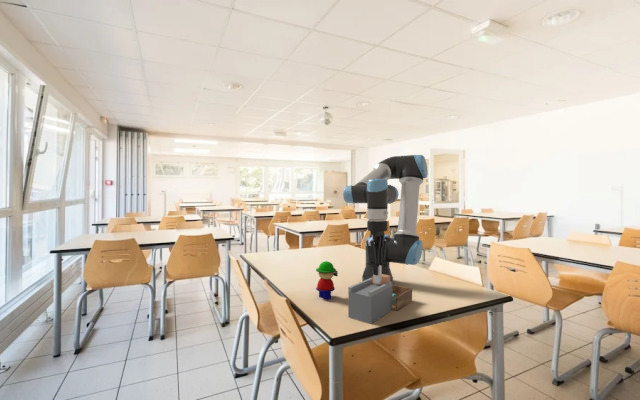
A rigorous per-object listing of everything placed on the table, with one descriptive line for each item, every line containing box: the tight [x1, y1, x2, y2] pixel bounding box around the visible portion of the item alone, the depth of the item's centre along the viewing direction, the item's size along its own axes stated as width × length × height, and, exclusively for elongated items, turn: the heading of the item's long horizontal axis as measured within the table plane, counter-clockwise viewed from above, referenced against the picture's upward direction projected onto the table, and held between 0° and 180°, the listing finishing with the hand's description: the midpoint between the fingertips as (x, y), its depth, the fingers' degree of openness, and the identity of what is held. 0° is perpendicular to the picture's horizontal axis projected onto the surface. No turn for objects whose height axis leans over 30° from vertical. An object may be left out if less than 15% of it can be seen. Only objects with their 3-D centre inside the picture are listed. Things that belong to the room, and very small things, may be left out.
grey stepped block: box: [347, 278, 393, 324], centre depth 110 cm, size 9×16×10 cm, turn 141°
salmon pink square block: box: [372, 274, 390, 285], centre depth 116 cm, size 5×5×3 cm
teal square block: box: [392, 293, 396, 304], centre depth 120 cm, size 5×5×3 cm
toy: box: [315, 260, 338, 301], centre depth 128 cm, size 9×9×15 cm
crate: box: [391, 284, 413, 312], centre depth 121 cm, size 13×14×5 cm
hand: (377, 282), depth 113 cm, fingers closed
